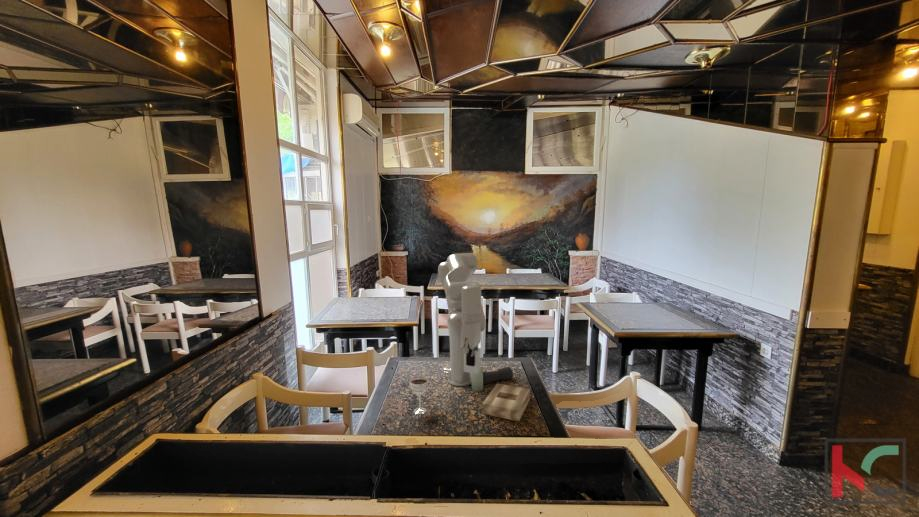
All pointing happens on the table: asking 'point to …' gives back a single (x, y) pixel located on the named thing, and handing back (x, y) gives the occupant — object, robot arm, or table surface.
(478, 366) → the block
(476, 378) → the round bit
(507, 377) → the flashlight
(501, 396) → the socket block
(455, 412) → the table surface
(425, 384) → the wineglass
